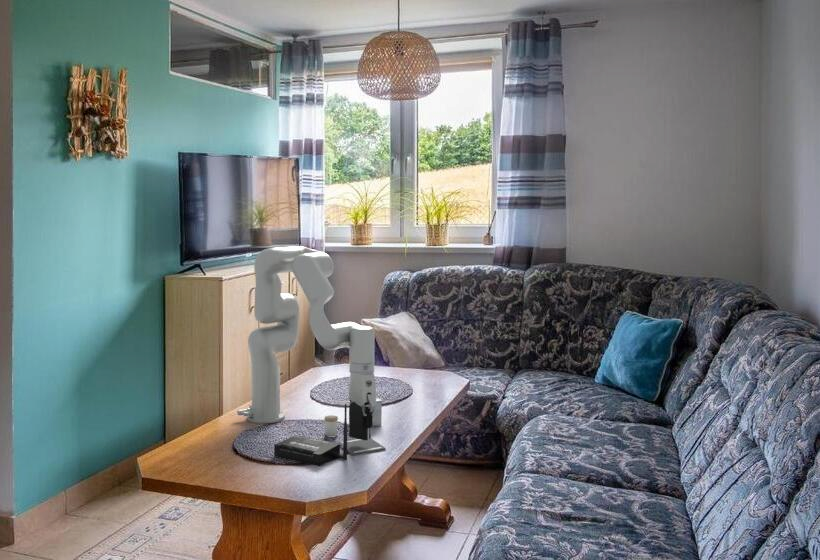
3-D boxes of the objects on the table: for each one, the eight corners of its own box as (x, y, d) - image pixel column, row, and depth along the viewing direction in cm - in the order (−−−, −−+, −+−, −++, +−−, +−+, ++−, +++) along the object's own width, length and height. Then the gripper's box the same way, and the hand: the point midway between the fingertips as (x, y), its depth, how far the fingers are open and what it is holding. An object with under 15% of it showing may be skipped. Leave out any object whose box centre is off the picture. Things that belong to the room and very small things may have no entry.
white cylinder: (327, 438, 225) (327, 420, 224) (322, 434, 229) (322, 416, 228) (339, 436, 227) (339, 418, 226) (334, 432, 231) (334, 414, 230)
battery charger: (374, 438, 217) (374, 401, 216) (367, 441, 214) (367, 404, 213) (355, 434, 221) (355, 398, 220) (348, 437, 218) (348, 400, 216)
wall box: (359, 429, 235) (359, 403, 234) (348, 421, 242) (348, 397, 241) (382, 425, 239) (383, 400, 238) (371, 418, 246) (371, 394, 245)
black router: (270, 459, 207) (270, 402, 205) (298, 445, 220) (298, 391, 218) (328, 472, 198) (328, 412, 196) (354, 457, 211) (355, 400, 209)
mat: (352, 455, 210) (352, 453, 210) (337, 444, 220) (337, 442, 220) (385, 450, 216) (385, 447, 216) (369, 439, 225) (369, 436, 225)
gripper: (386, 372, 209) (385, 430, 211) (360, 360, 224) (360, 414, 226) (363, 374, 206) (362, 434, 208) (338, 362, 221) (338, 418, 223)
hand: (361, 423), depth 217 cm, fingers closed on battery charger, 7 cm apart
